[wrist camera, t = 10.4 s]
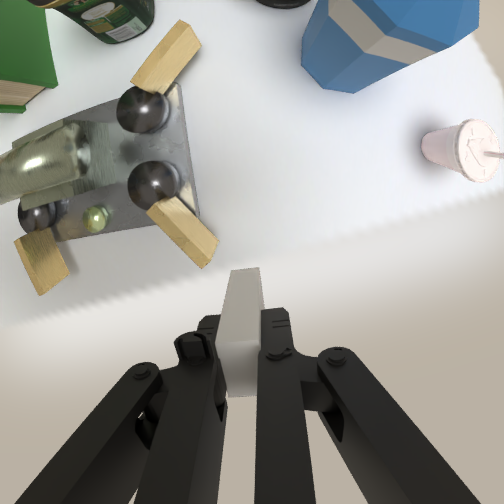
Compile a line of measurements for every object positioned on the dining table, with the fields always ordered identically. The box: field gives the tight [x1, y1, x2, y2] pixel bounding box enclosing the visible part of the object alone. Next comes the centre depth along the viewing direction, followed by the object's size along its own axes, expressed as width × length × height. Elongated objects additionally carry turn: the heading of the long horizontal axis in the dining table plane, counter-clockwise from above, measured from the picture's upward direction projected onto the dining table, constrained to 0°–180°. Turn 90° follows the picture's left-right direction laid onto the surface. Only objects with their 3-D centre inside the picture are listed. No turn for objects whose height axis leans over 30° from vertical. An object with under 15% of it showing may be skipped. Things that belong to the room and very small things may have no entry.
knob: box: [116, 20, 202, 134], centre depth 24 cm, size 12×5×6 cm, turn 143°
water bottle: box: [301, 0, 479, 94], centre depth 16 cm, size 9×9×25 cm
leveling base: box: [0, 83, 200, 242], centre depth 25 cm, size 24×15×15 cm, turn 98°
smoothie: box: [421, 119, 504, 183], centre depth 24 cm, size 6×6×14 cm
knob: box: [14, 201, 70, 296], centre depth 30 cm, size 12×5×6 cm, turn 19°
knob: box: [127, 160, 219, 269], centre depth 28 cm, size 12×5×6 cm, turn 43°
